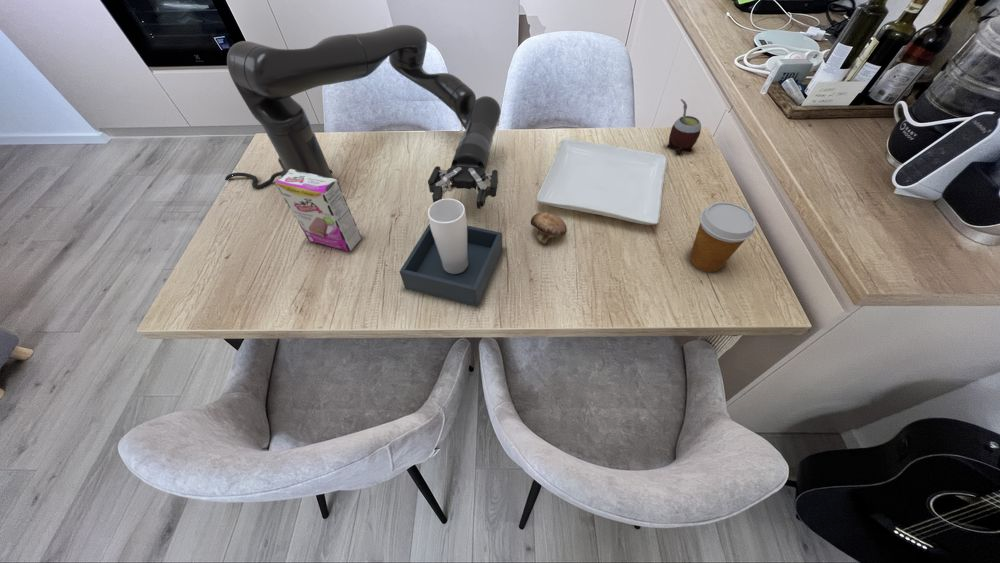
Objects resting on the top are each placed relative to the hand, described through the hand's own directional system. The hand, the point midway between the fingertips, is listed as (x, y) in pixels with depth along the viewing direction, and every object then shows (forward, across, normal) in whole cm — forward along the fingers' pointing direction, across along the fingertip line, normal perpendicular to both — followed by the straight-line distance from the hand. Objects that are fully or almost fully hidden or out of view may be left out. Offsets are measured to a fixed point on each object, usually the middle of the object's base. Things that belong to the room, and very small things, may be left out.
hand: (456, 204), depth 79 cm
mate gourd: (-41, -51, -11) cm, 67 cm away
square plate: (-22, -31, -11) cm, 40 cm away
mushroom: (-4, -18, -11) cm, 22 cm away
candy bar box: (+3, +28, -11) cm, 31 cm away
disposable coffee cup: (-1, -51, -11) cm, 53 cm away
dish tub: (+8, 0, -11) cm, 13 cm away
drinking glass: (+8, 0, -10) cm, 13 cm away
